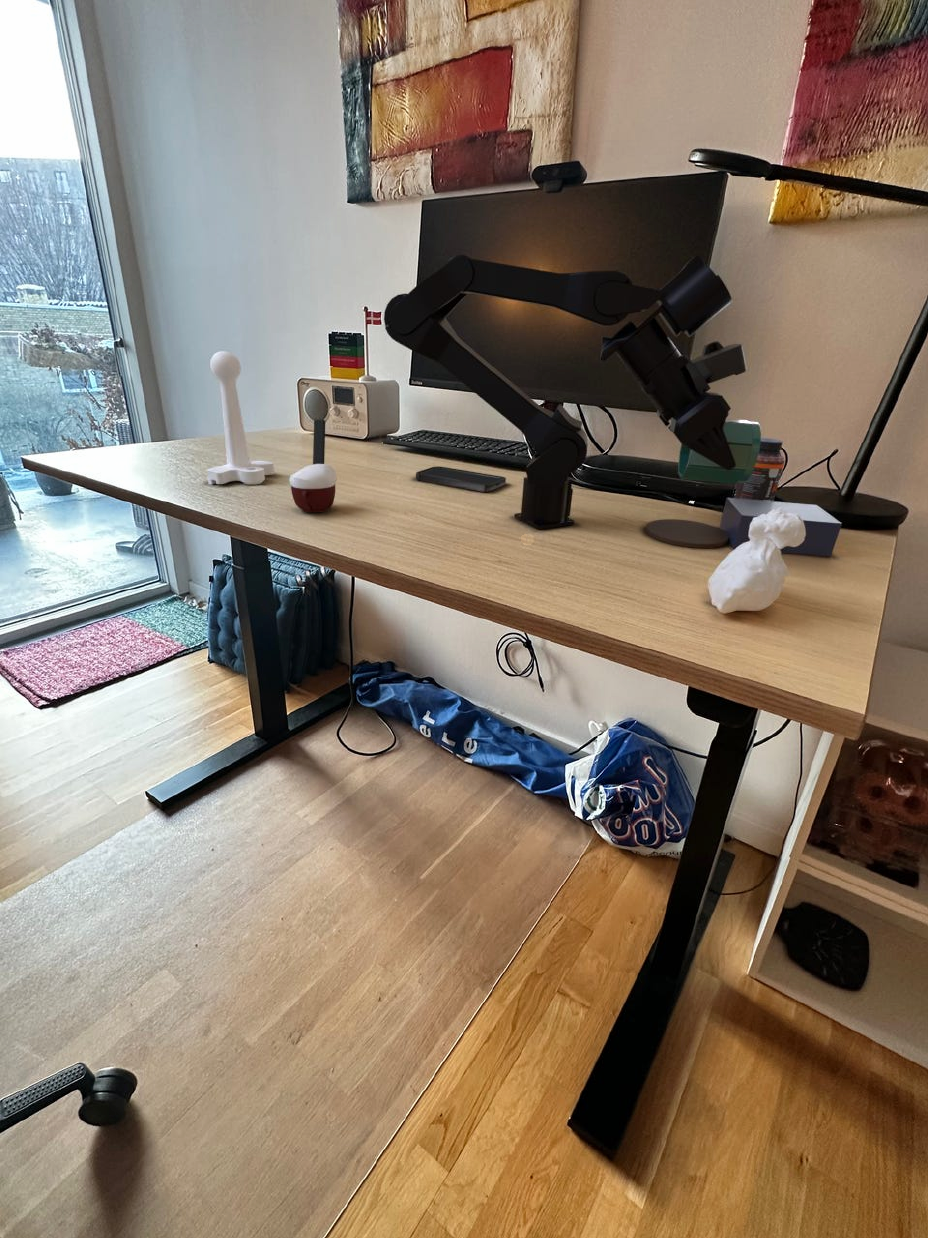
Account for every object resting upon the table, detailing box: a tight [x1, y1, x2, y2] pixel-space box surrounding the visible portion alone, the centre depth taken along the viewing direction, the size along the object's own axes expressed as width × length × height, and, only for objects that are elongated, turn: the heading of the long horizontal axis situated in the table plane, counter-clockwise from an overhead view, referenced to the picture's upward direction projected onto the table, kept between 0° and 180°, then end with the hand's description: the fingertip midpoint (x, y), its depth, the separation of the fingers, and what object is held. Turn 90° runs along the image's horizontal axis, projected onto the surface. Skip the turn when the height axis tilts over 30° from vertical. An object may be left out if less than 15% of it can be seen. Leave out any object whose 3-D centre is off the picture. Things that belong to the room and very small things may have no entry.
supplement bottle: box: [732, 437, 785, 502], centre depth 90 cm, size 6×6×11 cm
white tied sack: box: [707, 508, 806, 614], centre depth 58 cm, size 12×8×11 cm
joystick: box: [205, 350, 276, 486], centre depth 94 cm, size 11×8×20 cm
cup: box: [677, 418, 762, 485], centre depth 76 cm, size 8×8×8 cm
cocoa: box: [288, 418, 338, 513], centre depth 83 cm, size 10×6×12 cm, turn 153°
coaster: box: [645, 518, 729, 549], centre depth 81 cm, size 11×11×1 cm
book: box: [718, 497, 843, 558], centre depth 79 cm, size 12×9×4 cm
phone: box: [415, 465, 507, 493], centre depth 103 cm, size 8×1×15 cm
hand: (725, 461), depth 76 cm, fingers closed on cup, 7 cm apart
